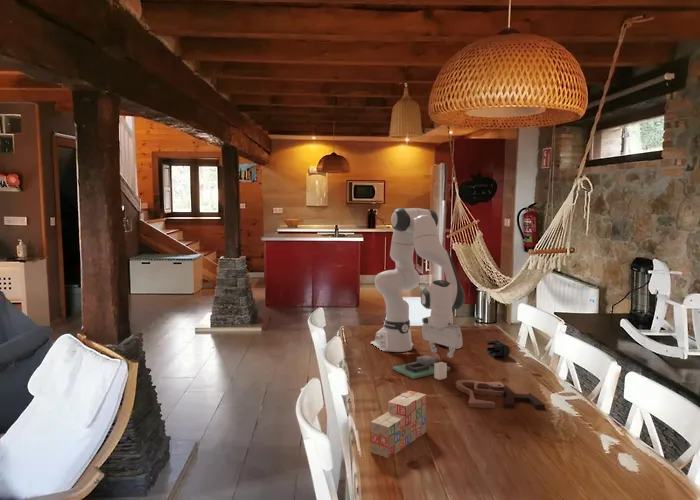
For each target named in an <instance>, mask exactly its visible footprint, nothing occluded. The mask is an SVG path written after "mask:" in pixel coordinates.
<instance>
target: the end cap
mask: <svg viewBox="0 0 700 500" xmlns="http://www.w3.org/2000/svg"><path fill="white" fill-rule="evenodd" d="M486 343H487V344H486V345H487V346H491V345H492V346H491V347H486V351H487V355H488V356H490V357H491V358H492V359H494V360H504V359H506V358H507V357H508V356H509V355H510V353H511V349H510V347H509V346H508V345H507V344H505V343H504V342H503V341H501V340H499V339H494V340H488V341H487V342H486Z"/></svg>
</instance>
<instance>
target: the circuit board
mask: <svg viewBox="0 0 700 500" xmlns="http://www.w3.org/2000/svg"><path fill="white" fill-rule="evenodd" d="M434 363H438V362H437V357H434V356H431V355H429V354H424V355H420V356H417V357H416V361H415V362H414V361H413V362H409V363H405V364H399V365H395V366H392V369H393V371H394V370H395V371H394V372H397V373H400V374H401V373H402V374H401V375H403V374H404V376H406V377H408V378H411V379H413V380H414V379H419V378H422V377H423V378H424V377H427V376H431V375H434ZM448 371H451V367H450V366H448V365H447V372H448Z"/></svg>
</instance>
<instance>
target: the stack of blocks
mask: <svg viewBox="0 0 700 500" xmlns="http://www.w3.org/2000/svg"><path fill="white" fill-rule="evenodd" d="M387 407H388V408H387V412H385V413H384V414H382V415H379V416H378V417H377V418H375V419H373V420H371V421H370V453H371V452H372V454H373V455H377V454H378V455H377V456H380V457H382V456H383V458H385V459H390V458H391V457H392V456H394V455H396V454H397V453H399V452H400V451H401V450H402V449H404V448H406V447H407V446H408V445H409V444H411V443H412V442H414V441H415V440H417V439H419V438H420V437H421V436H423V435H424V434H425V433H427V394H425V393H422V392H417V391H414V390H407V391H405V392H403V393H401V394H399V395H398V396H396V397H394V398H392V399H391V400H389V401H388V403H387Z"/></svg>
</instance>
